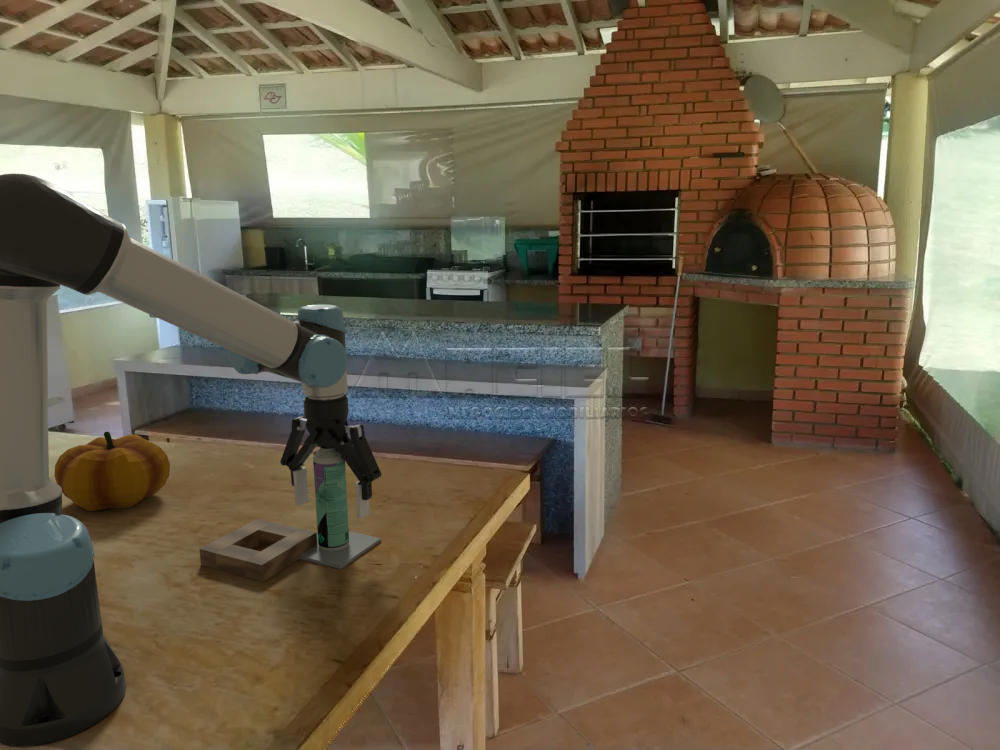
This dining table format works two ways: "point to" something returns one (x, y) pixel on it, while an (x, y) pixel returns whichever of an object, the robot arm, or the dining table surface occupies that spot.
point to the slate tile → (341, 551)
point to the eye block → (242, 560)
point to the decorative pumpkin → (112, 472)
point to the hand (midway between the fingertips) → (332, 509)
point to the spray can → (331, 500)
